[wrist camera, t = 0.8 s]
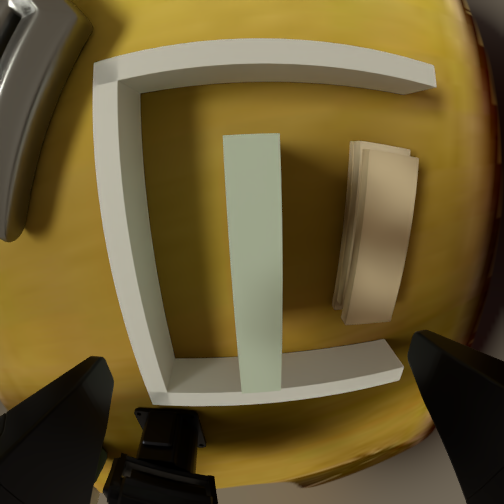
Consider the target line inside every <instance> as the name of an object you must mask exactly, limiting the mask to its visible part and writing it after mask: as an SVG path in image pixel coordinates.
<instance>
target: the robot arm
mask: <svg viewBox="0 0 504 504" xmlns="http://www.w3.org/2000/svg"><path fill="white" fill-rule="evenodd" d="M408 362H409V364H410V367H411V369H412V372H413V374H414V377H415V380H416V382H417V385H418V388H419V391H420V393H421V396H422V398H423V401H424V403H425V405H426V407H427V409H428V411H429V413H430V415H431V418H432V420H433V422H434V424H435V426H436V428H437V431H438V433H439V435H440V437H441V439H442V442H443V444H444V446H445V449H446V451H447V453H448V456H449V458H450V460H451V463H452V465H453V468H454V470H455V473H456V476H457V478H458V481H459V483H460V486H461V489H462V491H463V494H464V497H465V500H466V503H467V504H504V361H501V360H499V359H497V358H494V357H491V356H489V355H487V354H484V353H482V352H480V351H477V350H475V349H472V348H470V347H467V346H465V345H463V344H460V343H458V342H455V341H453V340H451V339H448V338H446V337H443V336H441V335H438V334H436V333H434V332H431V331H429V330H421V331H417V332H415V333H414V335H413V337H412V340H411V344H410V347H409V351H408ZM113 386H114V380H113V377H112V374H111V372H110V370H109V367H108V365H107V362H106V360H105V359H104V358H103V357H98V356H90V357H89V358H87V359H86V360H84V361H83V362H81V363H80V364H78V365H77V366H75V367H74V368H72V369H71V370H69V371H68V372H66V373H65V374H63V375H62V376H60V377H59V378H57V379H56V380H54V381H53V382H51V383H50V384H48V385H46V386H45V387H43V388H42V389H40V390H39V391H37V392H36V393H34V394H33V395H31V396H30V397H28V398H27V399H25V400H24V401H22V402H21V403H19V404H18V405H16V406H15V407H13V408H12V409H10V410H9V411H7V413H4V414H3V415H2V416H0V504H90V501H91V496H92V491H93V485H94V481H95V476H96V471H97V466H98V462H99V458H100V453H101V449H102V445H103V441H104V437H105V433H106V429H107V423H108V417H109V410H110V404H111V398H112V392H113ZM134 414H135V416H136V418H137V420H138V422H139V424H140V426H141V427H142V429H143V433H142V437H141V441H140V445H139V449H138V453H137V457H136V458H133V457H130V456H127V454H124V453H122V454H121V457H119V458H114V460H113V463H112V467H111V470H110V473H109V475H108V478H107V480H106V483H105V485H104V488H103V493H104V495H105V496H106V498H107V502H108V504H218V500H217V494H216V486H215V479H214V476H210V475H208V476H205V475H200V474H195V472H196V458H197V447H206V441H205V437H204V434H203V431H202V427H201V424H200V421H199V417H198V414H197V413H196V412H195V411H175V410H155V409H142V408H136V409H135V412H134Z"/></svg>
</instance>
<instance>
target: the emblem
mask: <svg viewBox="0 0 504 504" xmlns="http://www.w3.org/2000/svg"><path fill="white" fill-rule="evenodd" d="M92 29H93V26H92V24H91V22H90V21H89V20H88V19H87V17H86V16H85V15H84V14H83V13H82V12H81V11H80V10H79V9H78V8H77V7H76V6H75V5H74V4H73V2H72V1H71V0H0V239H1V240H3V241H5V242H12V241H15V240H16V239H17V238H18V237H19V236H20V235H21V233H22V231H23V229H24V226H25V222H26V217H27V211H28V205H29V199H30V193H31V188H32V183H33V179H34V174H35V170H36V166H37V162H38V158H39V154H40V151H41V147H42V144H43V140H44V137H45V134H46V131H47V128H48V125H49V122H50V119H51V117H52V114H53V111H54V109H55V106H56V103H57V101H58V99H59V96H60V94H61V91H62V89H63V87H64V85H65V82H66V80H67V78H68V76H69V74H70V72H71V70H72V67H73V65H74V63H75V62H76V60H77V58H78V56H79V54H80V52H81V50H82V48H83V46H84V45H85V43H86V41H87V39H88V37H89V36H90V34H91V32H92Z"/></svg>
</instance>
